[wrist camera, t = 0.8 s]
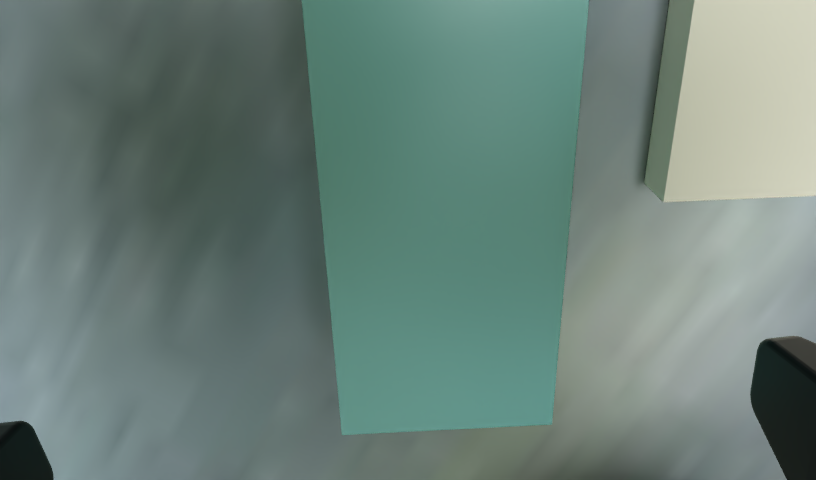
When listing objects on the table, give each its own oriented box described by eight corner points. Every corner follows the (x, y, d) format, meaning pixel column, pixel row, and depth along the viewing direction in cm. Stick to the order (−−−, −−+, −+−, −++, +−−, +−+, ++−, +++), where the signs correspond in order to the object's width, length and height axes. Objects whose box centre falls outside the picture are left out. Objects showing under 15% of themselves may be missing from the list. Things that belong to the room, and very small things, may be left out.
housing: (536, -58, 17) (593, -50, 13) (516, 321, 22) (551, 424, 18) (318, -51, 17) (297, -40, 12) (349, 329, 22) (341, 435, 18)
